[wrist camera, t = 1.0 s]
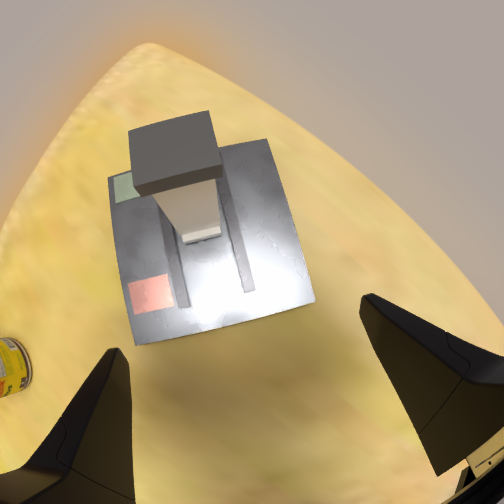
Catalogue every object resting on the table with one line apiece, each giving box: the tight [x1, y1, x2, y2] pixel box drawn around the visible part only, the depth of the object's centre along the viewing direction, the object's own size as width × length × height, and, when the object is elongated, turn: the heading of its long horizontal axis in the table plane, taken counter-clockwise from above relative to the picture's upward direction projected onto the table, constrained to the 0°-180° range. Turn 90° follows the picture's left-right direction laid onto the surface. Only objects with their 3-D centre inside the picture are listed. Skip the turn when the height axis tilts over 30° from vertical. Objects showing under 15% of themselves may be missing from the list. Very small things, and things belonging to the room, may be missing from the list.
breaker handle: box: [128, 110, 223, 244], centre depth 16 cm, size 3×4×11 cm
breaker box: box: [108, 139, 316, 346], centre depth 22 cm, size 14×14×3 cm
